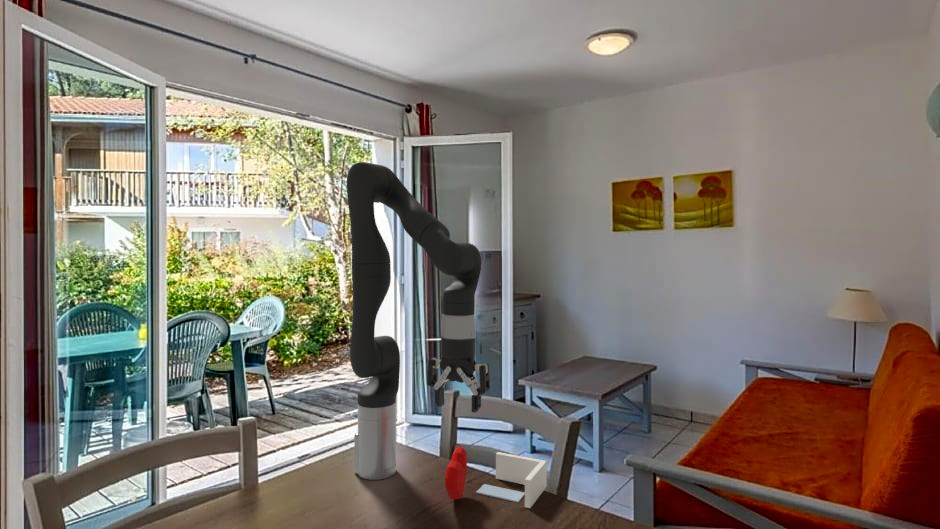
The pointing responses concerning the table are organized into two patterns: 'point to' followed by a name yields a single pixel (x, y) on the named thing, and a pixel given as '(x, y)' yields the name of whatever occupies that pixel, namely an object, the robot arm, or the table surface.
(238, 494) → the table surface
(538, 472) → the corner walls
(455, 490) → the heart
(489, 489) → the pad
